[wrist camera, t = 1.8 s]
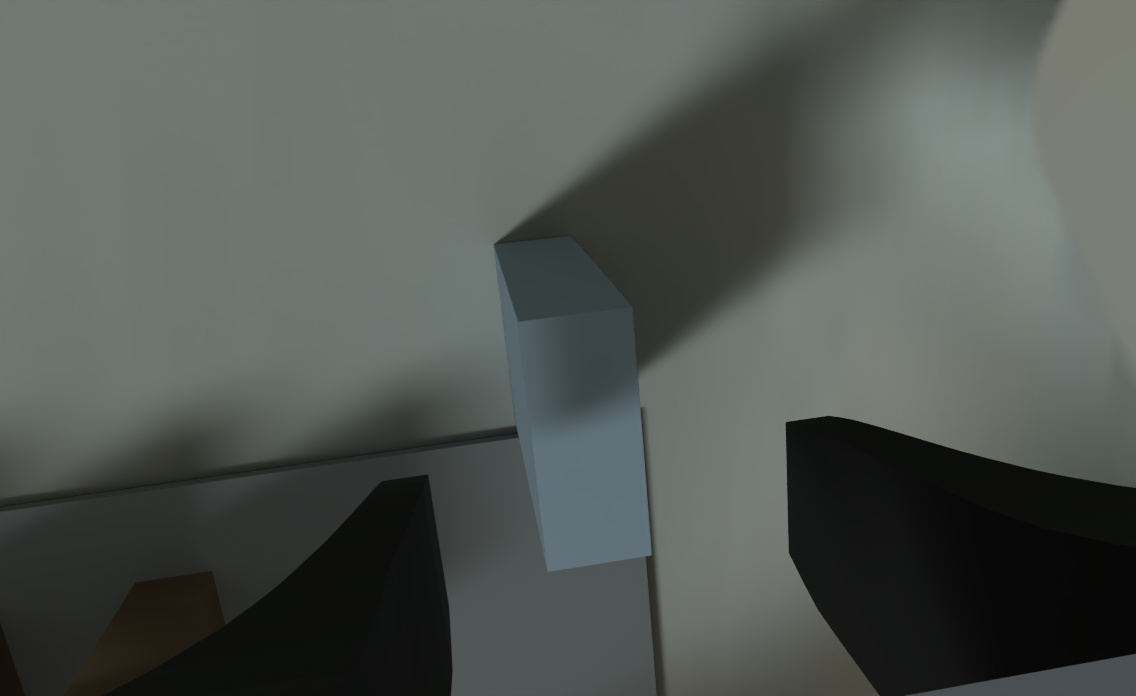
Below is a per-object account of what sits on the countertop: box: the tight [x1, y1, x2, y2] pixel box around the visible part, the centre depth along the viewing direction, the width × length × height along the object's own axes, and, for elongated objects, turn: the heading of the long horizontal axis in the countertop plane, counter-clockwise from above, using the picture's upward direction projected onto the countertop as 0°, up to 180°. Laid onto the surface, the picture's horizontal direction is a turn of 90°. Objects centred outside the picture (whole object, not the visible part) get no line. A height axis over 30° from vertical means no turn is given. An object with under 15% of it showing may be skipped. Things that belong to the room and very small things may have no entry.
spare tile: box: [494, 235, 652, 572], centre depth 17 cm, size 2×4×7 cm, turn 5°
